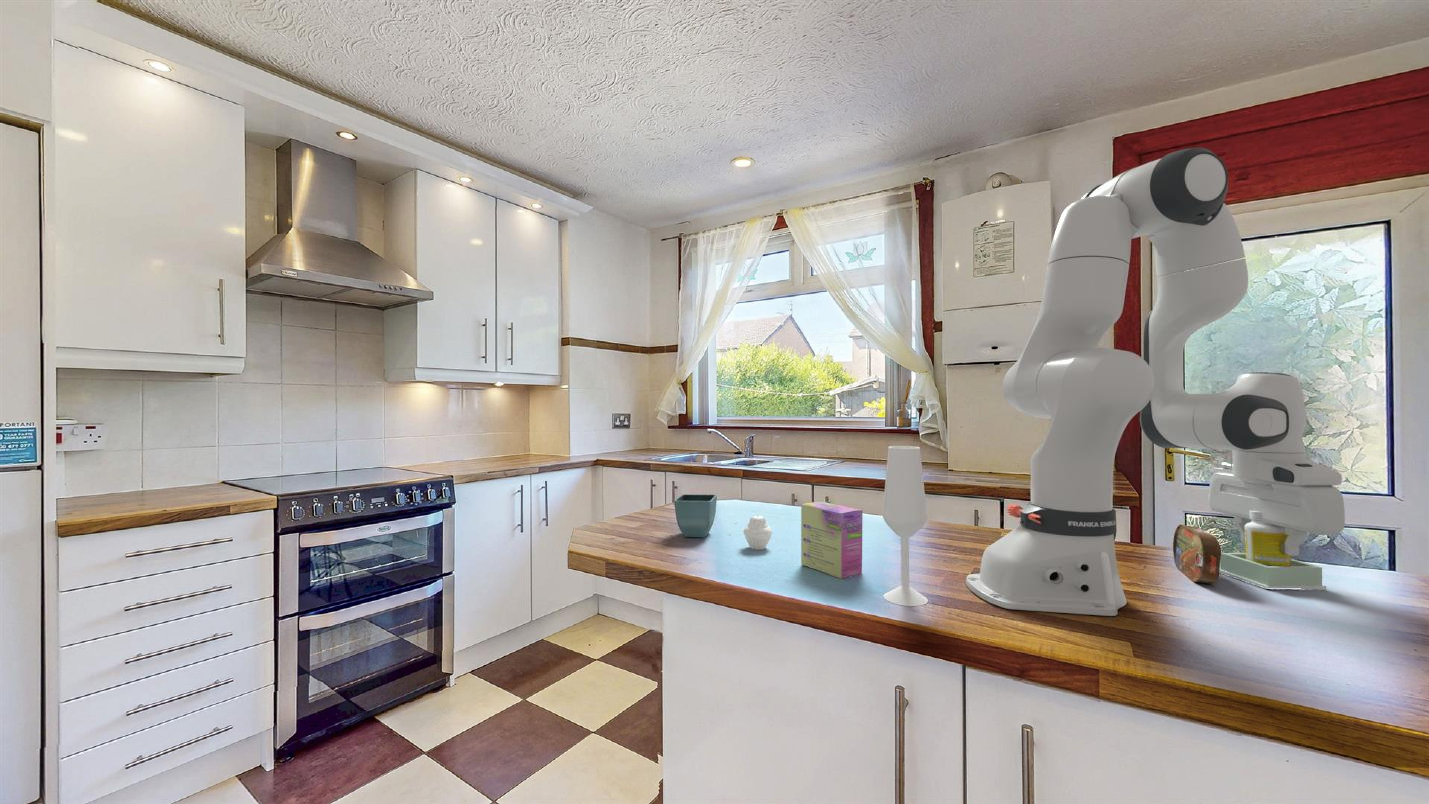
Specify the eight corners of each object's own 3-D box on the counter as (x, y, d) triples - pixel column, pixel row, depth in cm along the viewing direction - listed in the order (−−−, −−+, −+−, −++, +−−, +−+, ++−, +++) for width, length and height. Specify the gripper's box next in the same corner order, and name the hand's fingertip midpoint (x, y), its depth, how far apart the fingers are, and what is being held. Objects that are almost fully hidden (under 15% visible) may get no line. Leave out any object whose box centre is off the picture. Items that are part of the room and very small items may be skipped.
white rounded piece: (757, 542, 122) (757, 511, 122) (778, 547, 117) (777, 515, 117) (737, 547, 118) (737, 515, 118) (758, 553, 113) (758, 519, 113)
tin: (1171, 564, 103) (1170, 519, 103) (1192, 566, 102) (1192, 521, 102) (1200, 588, 90) (1199, 537, 90) (1225, 591, 89) (1224, 539, 89)
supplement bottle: (1301, 574, 90) (1297, 513, 90) (1262, 572, 91) (1258, 513, 91) (1275, 566, 95) (1271, 509, 96) (1238, 565, 96) (1234, 508, 97)
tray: (1267, 590, 89) (1267, 568, 89) (1217, 572, 98) (1217, 552, 98) (1326, 590, 88) (1325, 568, 88) (1270, 572, 98) (1270, 552, 98)
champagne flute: (884, 588, 91) (883, 445, 91) (928, 593, 89) (926, 445, 89) (881, 603, 85) (880, 448, 85) (928, 608, 82) (926, 449, 82)
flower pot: (673, 539, 125) (673, 500, 125) (682, 530, 134) (681, 493, 134) (711, 540, 124) (711, 501, 124) (717, 531, 133) (717, 494, 133)
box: (863, 573, 99) (863, 508, 99) (841, 579, 96) (841, 512, 96) (822, 560, 108) (821, 500, 108) (800, 565, 105) (800, 503, 105)
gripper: (1197, 461, 104) (1197, 534, 104) (1311, 476, 83) (1312, 566, 83) (1231, 461, 103) (1232, 534, 103) (1354, 475, 83) (1355, 567, 83)
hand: (1268, 549), depth 93 cm, fingers closed on supplement bottle, 5 cm apart
